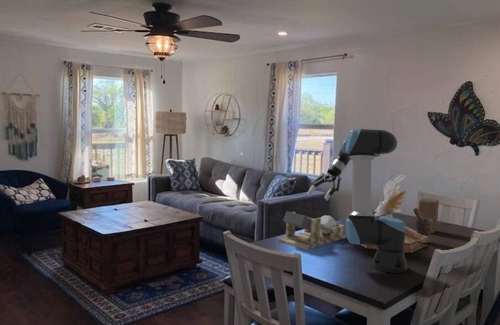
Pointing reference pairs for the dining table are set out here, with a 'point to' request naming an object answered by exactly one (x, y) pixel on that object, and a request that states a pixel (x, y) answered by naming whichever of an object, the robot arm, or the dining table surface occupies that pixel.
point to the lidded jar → (327, 224)
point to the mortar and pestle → (422, 224)
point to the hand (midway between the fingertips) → (316, 197)
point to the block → (429, 211)
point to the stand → (312, 235)
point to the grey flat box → (300, 221)
